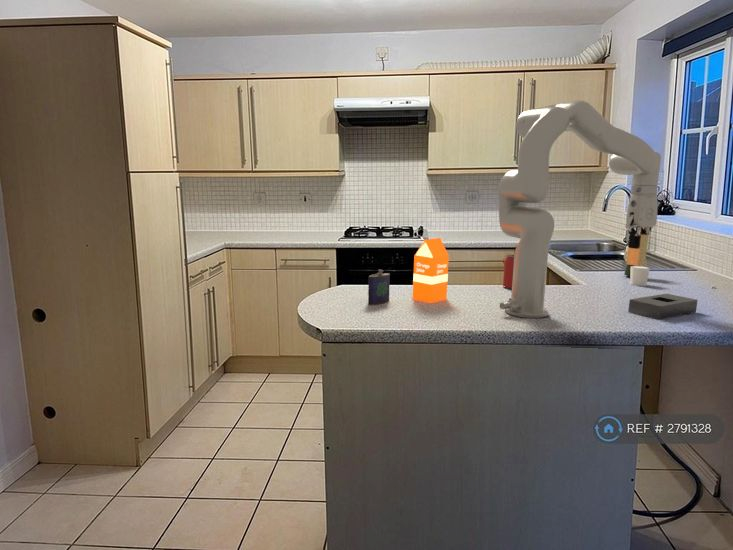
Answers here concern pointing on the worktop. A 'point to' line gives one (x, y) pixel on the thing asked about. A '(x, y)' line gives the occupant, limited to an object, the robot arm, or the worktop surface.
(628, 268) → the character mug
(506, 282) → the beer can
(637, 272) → the white cube
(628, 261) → the brass peg
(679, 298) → the grey slotted block
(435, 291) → the orange juice
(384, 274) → the flask
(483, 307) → the worktop surface
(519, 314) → the robot arm
